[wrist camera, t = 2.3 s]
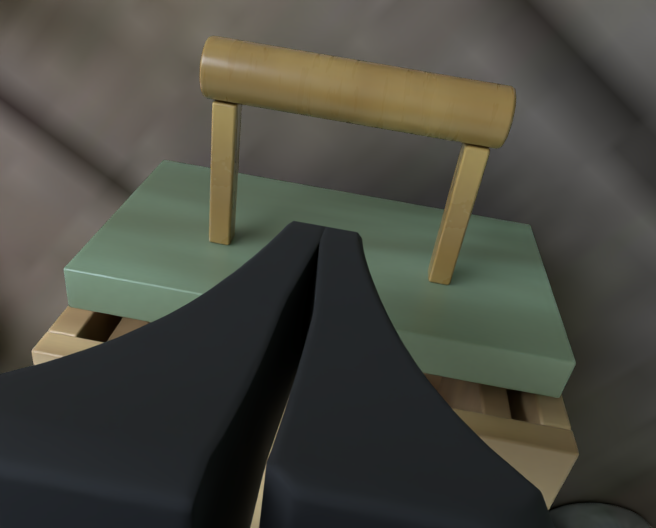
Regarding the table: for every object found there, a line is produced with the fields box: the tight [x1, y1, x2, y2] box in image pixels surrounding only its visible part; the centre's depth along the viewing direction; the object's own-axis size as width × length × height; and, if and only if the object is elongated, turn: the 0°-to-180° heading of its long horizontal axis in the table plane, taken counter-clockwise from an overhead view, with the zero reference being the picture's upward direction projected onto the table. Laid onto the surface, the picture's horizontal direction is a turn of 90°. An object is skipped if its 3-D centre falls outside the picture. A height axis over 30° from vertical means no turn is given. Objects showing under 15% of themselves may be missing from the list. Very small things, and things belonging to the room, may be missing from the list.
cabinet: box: [31, 306, 579, 528], centre depth 22 cm, size 14×14×9 cm
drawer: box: [64, 36, 576, 419], centre depth 19 cm, size 18×12×7 cm
